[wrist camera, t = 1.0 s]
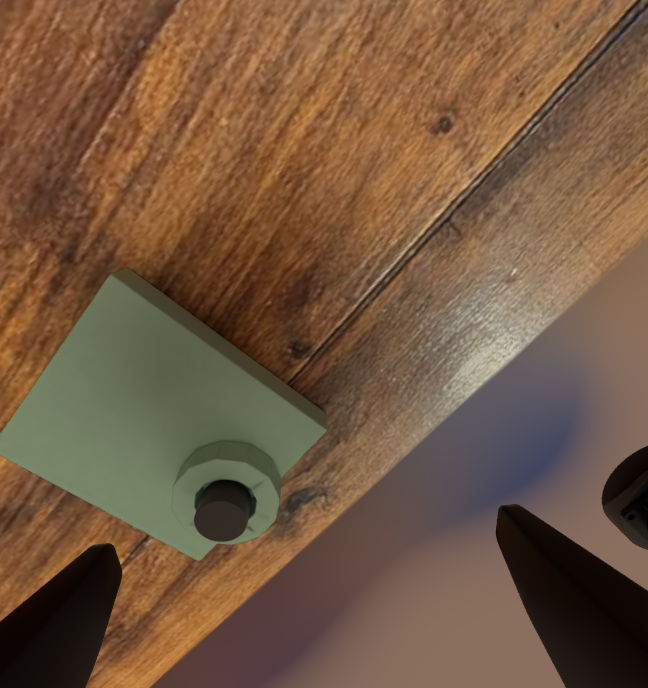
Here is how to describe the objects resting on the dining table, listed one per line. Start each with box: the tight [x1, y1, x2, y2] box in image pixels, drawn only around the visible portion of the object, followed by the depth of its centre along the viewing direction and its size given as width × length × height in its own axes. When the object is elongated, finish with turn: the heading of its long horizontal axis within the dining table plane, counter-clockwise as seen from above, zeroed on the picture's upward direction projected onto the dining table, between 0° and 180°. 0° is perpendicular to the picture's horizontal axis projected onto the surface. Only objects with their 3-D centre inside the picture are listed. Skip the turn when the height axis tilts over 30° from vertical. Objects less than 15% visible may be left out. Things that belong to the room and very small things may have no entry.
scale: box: [0, 268, 327, 561], centre depth 20 cm, size 14×12×4 cm
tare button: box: [194, 480, 251, 542], centre depth 19 cm, size 3×3×2 cm
